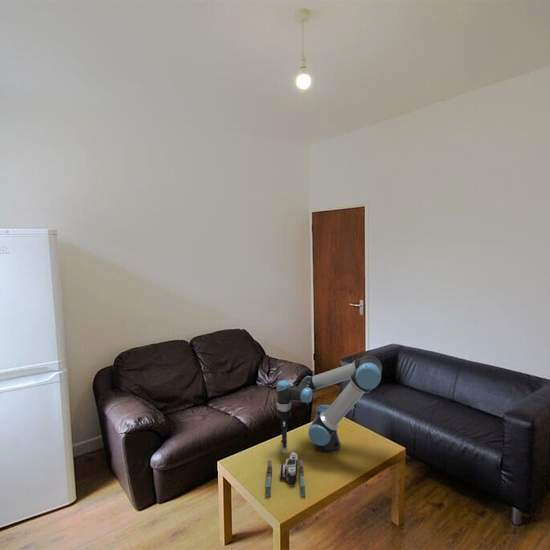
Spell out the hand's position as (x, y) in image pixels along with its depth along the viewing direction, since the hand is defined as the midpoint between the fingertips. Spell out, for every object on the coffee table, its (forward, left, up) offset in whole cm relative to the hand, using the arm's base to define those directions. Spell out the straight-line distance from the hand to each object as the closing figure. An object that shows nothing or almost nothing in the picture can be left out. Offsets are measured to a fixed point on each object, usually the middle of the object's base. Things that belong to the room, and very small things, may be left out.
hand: (284, 445), depth 202 cm
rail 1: (+8, +25, -4) cm, 27 cm away
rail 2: (-8, +25, -4) cm, 27 cm away
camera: (-2, +20, -5) cm, 21 cm away
